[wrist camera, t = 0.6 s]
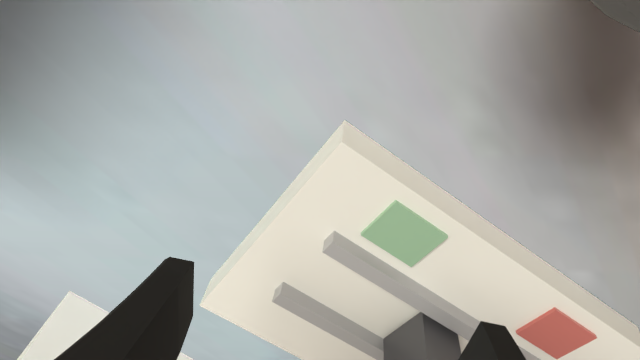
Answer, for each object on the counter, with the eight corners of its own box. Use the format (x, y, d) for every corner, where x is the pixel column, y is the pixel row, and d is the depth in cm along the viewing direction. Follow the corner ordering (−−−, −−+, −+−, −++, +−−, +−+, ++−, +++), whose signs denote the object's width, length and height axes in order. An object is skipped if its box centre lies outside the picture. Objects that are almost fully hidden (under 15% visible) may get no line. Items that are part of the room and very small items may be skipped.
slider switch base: (635, 325, 24) (663, 371, 22) (461, 416, 31) (468, 459, 29) (344, 119, 20) (340, 151, 17) (210, 278, 26) (194, 317, 24)
